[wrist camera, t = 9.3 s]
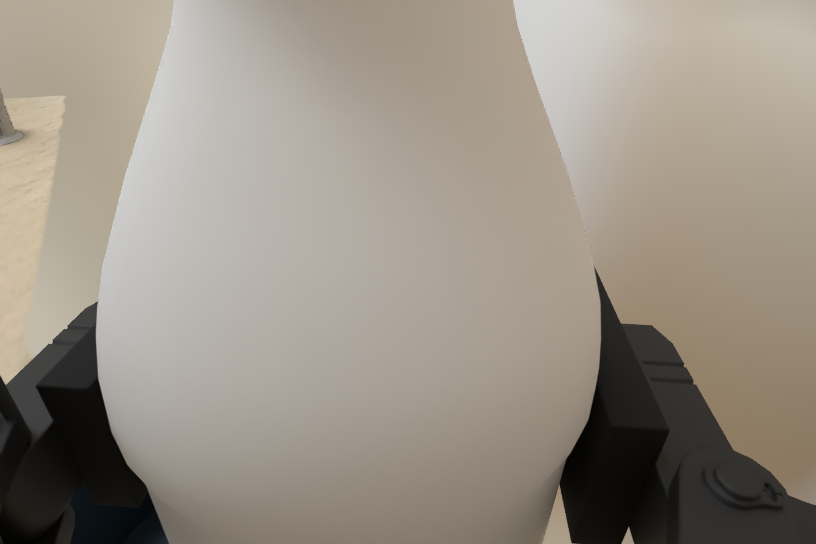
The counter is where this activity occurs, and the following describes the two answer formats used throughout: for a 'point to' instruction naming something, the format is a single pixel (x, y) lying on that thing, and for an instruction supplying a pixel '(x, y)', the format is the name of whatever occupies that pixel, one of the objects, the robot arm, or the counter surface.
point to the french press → (7, 126)
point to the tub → (115, 522)
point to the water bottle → (347, 280)
